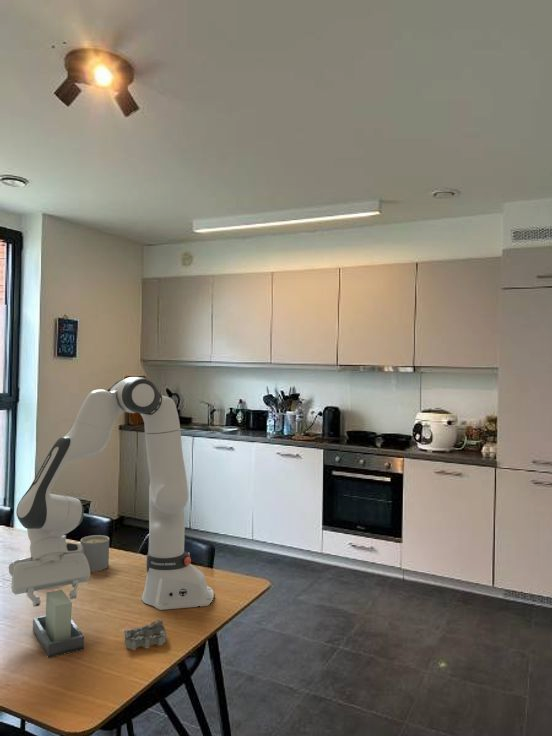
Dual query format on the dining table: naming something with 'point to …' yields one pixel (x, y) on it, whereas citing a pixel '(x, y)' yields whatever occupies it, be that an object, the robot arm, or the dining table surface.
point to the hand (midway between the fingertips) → (55, 601)
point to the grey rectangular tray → (62, 645)
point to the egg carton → (136, 635)
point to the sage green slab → (58, 616)
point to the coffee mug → (96, 551)
